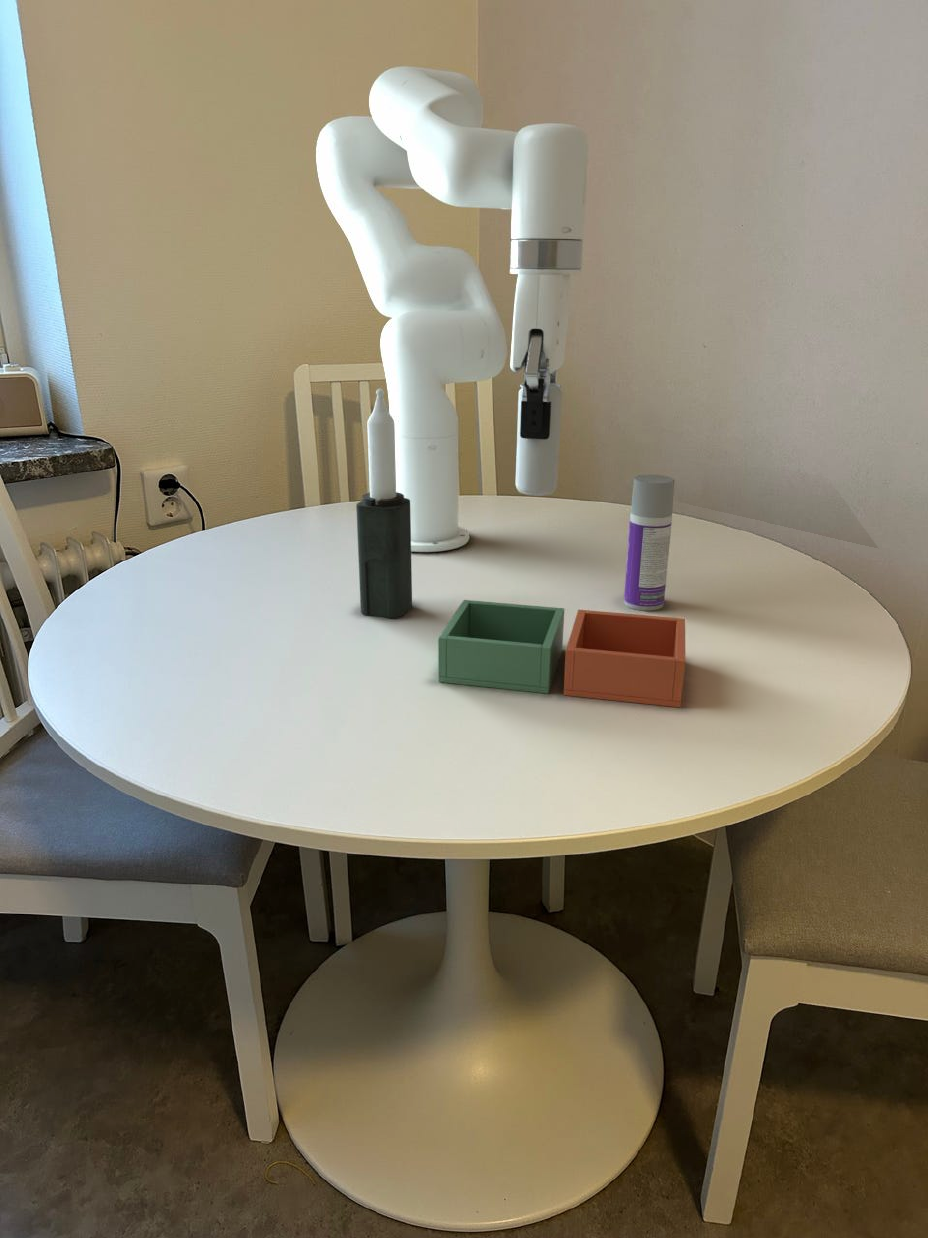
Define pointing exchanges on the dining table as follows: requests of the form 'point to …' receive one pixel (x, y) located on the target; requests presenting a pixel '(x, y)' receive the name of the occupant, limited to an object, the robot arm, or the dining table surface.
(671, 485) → the container
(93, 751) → the dining table surface
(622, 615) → the terracotta bin
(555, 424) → the beverage can
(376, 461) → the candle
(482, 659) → the sage bin
